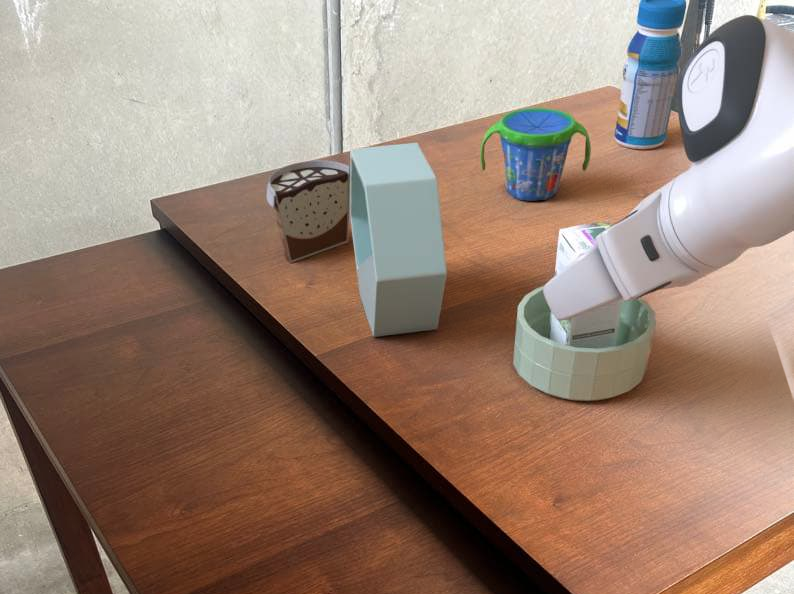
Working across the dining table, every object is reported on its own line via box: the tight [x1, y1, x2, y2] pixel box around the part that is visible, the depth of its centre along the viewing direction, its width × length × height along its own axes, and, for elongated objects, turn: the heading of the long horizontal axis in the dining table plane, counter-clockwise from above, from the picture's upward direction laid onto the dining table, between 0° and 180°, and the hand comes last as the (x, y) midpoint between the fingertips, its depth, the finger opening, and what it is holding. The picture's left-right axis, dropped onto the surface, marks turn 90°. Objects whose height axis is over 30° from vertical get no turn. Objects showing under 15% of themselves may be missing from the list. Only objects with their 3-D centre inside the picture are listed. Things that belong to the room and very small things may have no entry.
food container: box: [266, 160, 350, 264], centre depth 115 cm, size 12×6×10 cm, turn 126°
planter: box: [349, 142, 448, 338], centre depth 99 cm, size 17×8×21 cm
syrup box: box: [548, 221, 623, 349], centre depth 90 cm, size 6×6×14 cm
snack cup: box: [480, 107, 592, 202], centre depth 124 cm, size 16×10×10 cm
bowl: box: [512, 285, 657, 402], centre depth 94 cm, size 14×14×6 cm
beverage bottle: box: [613, 0, 687, 150], centre depth 134 cm, size 8×8×20 cm
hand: (583, 290), depth 90 cm, fingers closed on syrup box, 7 cm apart
